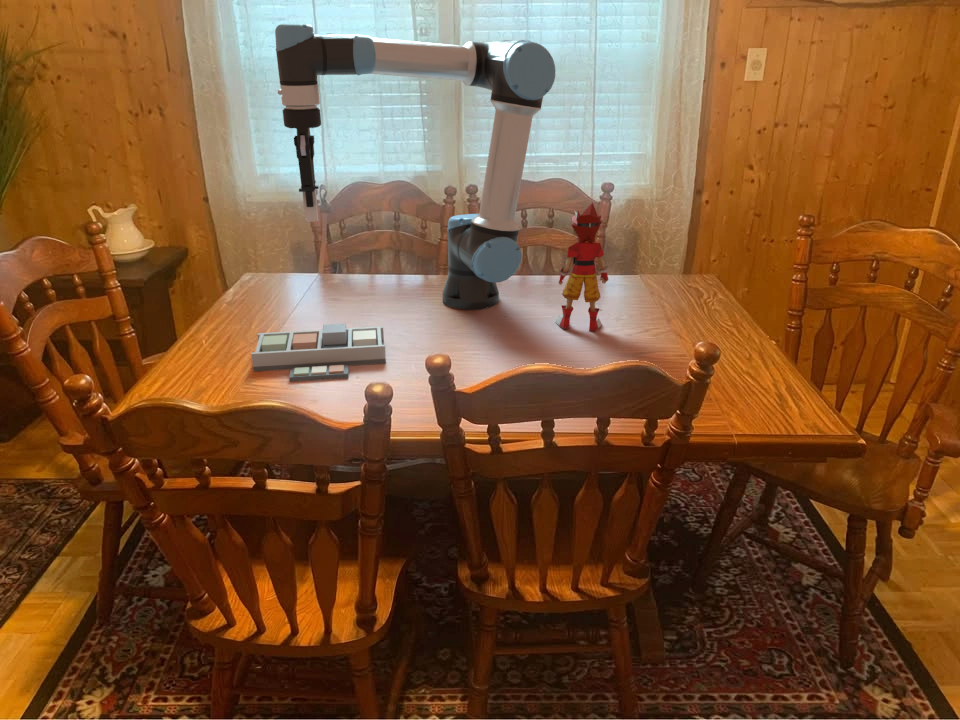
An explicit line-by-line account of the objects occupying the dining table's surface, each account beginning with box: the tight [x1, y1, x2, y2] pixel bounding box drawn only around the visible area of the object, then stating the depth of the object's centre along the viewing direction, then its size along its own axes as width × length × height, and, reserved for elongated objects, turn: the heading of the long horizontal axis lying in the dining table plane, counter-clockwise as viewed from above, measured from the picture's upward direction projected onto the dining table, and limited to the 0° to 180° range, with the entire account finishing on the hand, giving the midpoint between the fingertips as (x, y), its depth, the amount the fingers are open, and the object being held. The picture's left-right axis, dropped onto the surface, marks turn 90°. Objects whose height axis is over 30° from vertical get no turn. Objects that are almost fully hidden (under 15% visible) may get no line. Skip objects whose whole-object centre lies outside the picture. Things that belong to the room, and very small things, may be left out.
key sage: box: [261, 335, 288, 352], centre depth 161 cm, size 5×5×3 cm
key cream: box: [353, 330, 376, 346], centre depth 164 cm, size 5×5×3 cm
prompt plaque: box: [288, 365, 350, 383], centre depth 155 cm, size 12×4×1 cm, turn 99°
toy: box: [554, 202, 610, 333], centre depth 174 cm, size 12×9×30 cm
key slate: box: [321, 322, 347, 345], centre depth 162 cm, size 5×5×3 cm
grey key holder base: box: [250, 325, 387, 372], centre depth 163 cm, size 28×12×4 cm, turn 99°
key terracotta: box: [292, 333, 318, 350], centre depth 162 cm, size 5×5×3 cm
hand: (311, 220), depth 160 cm, fingers closed
